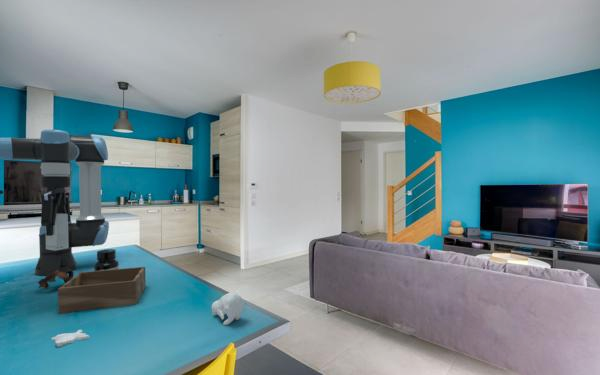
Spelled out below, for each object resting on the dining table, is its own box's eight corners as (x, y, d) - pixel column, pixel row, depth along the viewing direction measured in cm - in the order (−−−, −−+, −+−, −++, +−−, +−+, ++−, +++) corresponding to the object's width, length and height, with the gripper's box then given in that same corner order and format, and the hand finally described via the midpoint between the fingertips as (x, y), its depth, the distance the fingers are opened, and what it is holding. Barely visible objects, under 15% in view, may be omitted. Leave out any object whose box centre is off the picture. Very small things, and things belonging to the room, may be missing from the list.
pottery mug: (61, 294, 111) (46, 277, 109) (43, 303, 112) (28, 287, 110) (85, 276, 122) (72, 260, 120) (68, 285, 124) (55, 269, 122)
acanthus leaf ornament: (89, 340, 79) (89, 333, 79) (57, 352, 73) (57, 344, 73) (81, 331, 83) (81, 324, 83) (50, 341, 78) (50, 334, 78)
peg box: (80, 293, 110) (80, 272, 110) (145, 286, 117) (145, 266, 117) (58, 313, 93) (57, 288, 93) (135, 304, 100) (135, 281, 100)
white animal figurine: (228, 298, 83) (204, 292, 91) (230, 328, 83) (206, 320, 91) (245, 291, 88) (221, 286, 96) (247, 320, 88) (223, 312, 96)
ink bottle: (103, 282, 122) (103, 254, 121) (88, 280, 125) (87, 252, 124) (124, 275, 131) (123, 249, 131) (109, 273, 134) (109, 247, 134)
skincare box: (69, 248, 101) (68, 213, 100) (54, 251, 97) (53, 215, 97) (59, 246, 103) (59, 213, 103) (45, 249, 100) (44, 214, 99)
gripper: (57, 176, 108) (58, 238, 109) (24, 175, 89) (26, 250, 90) (81, 176, 110) (82, 237, 111) (54, 175, 91) (55, 248, 92)
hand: (57, 242), depth 100 cm, fingers closed on skincare box, 7 cm apart
